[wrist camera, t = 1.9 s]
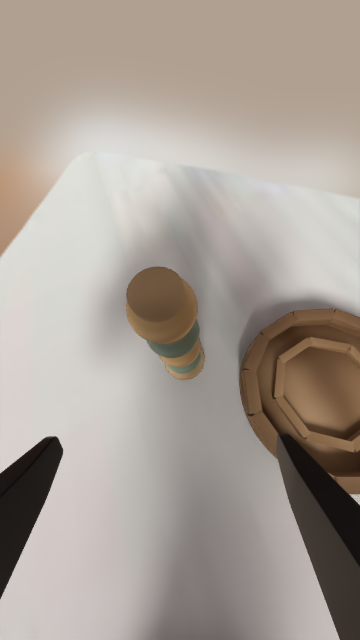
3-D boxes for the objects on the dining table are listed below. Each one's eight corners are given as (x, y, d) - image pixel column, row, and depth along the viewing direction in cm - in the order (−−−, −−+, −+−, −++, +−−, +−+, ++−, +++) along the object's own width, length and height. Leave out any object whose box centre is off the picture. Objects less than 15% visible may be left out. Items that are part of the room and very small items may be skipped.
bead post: (178, 387, 21) (133, 357, 8) (158, 353, 22) (93, 281, 9) (212, 365, 21) (223, 302, 8) (190, 333, 23) (171, 237, 10)
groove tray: (319, 528, 16) (336, 547, 14) (209, 365, 21) (210, 361, 19) (455, 419, 18) (489, 421, 16) (322, 292, 23) (334, 281, 21)
